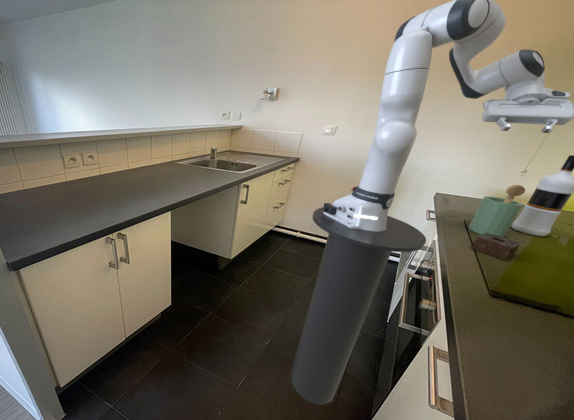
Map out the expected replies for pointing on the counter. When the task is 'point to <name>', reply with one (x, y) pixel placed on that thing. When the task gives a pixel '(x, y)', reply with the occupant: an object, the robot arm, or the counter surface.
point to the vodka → (546, 202)
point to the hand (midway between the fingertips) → (525, 130)
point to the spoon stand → (495, 246)
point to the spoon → (513, 192)
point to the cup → (494, 216)
